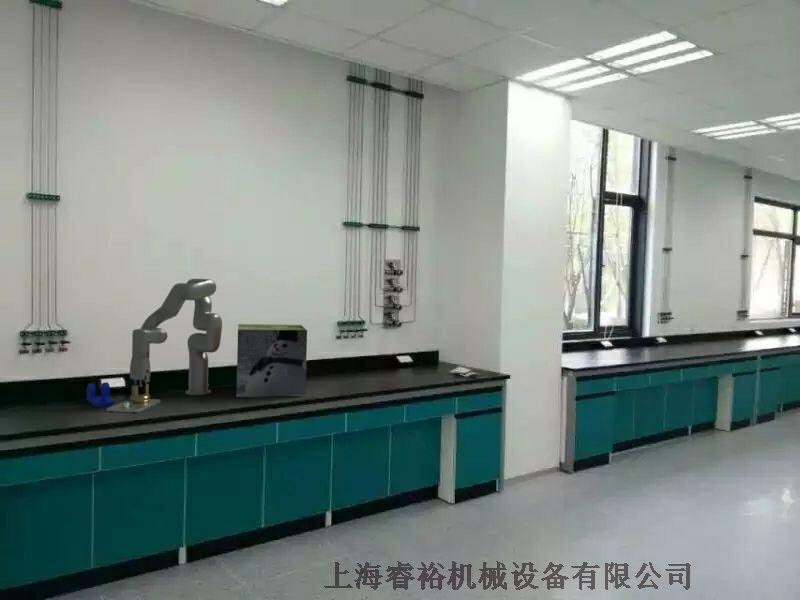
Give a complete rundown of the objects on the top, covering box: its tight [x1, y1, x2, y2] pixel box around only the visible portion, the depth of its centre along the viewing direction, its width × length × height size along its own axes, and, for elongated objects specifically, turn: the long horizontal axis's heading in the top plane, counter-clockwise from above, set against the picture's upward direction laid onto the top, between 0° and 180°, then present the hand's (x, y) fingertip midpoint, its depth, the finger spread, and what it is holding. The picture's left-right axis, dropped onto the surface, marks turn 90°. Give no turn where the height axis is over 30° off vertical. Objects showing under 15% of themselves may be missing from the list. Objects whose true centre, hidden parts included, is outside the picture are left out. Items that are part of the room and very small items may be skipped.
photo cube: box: [236, 323, 308, 398], centre depth 323 cm, size 35×35×35 cm
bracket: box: [86, 382, 115, 408], centre depth 279 cm, size 18×8×9 cm, turn 41°
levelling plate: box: [106, 398, 161, 413], centre depth 274 cm, size 22×14×3 cm, turn 177°
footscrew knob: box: [126, 383, 151, 403], centre depth 279 cm, size 10×8×8 cm
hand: (140, 393), depth 279 cm, fingers closed on footscrew knob, 2 cm apart
